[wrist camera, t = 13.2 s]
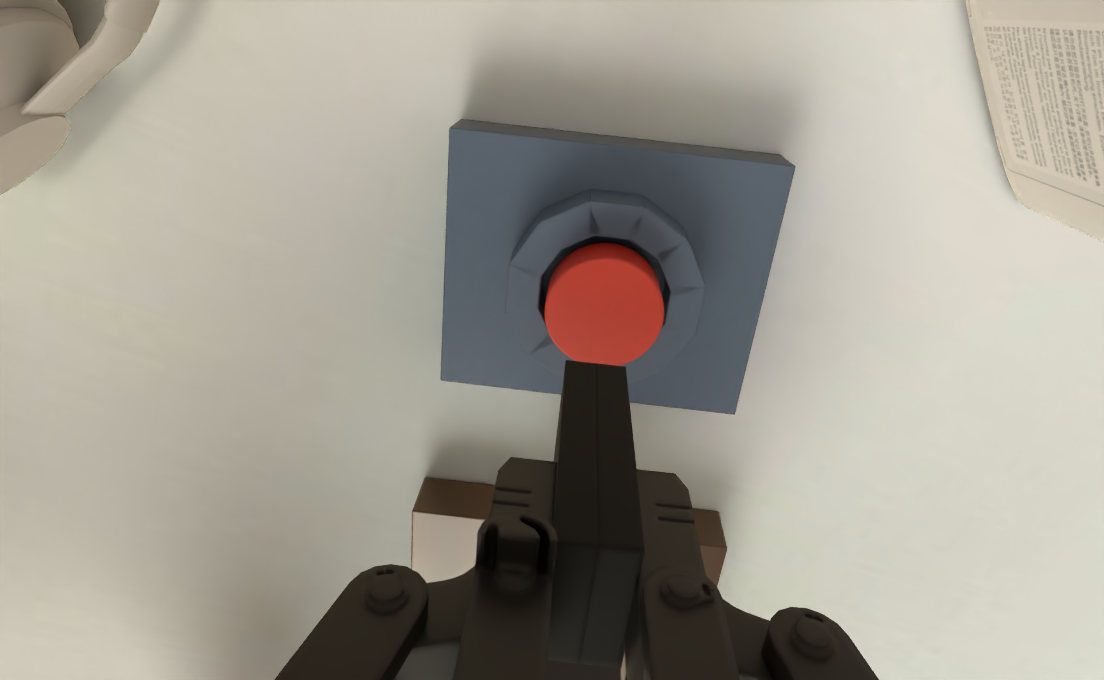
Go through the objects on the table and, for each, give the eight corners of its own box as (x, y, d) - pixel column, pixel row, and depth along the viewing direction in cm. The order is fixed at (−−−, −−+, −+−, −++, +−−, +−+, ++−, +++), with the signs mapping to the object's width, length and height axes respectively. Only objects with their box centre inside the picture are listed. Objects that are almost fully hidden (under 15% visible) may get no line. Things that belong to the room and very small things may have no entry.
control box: (450, 357, 30) (430, 403, 27) (460, 118, 26) (438, 135, 22) (725, 389, 30) (743, 439, 27) (780, 154, 26) (810, 176, 22)
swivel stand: (420, 657, 38) (408, 700, 36) (425, 457, 33) (411, 492, 30) (674, 688, 38) (679, 733, 36) (723, 492, 32) (733, 530, 30)
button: (542, 340, 26) (538, 361, 24) (553, 235, 24) (550, 251, 22) (650, 352, 26) (654, 374, 24) (668, 248, 24) (673, 265, 22)
